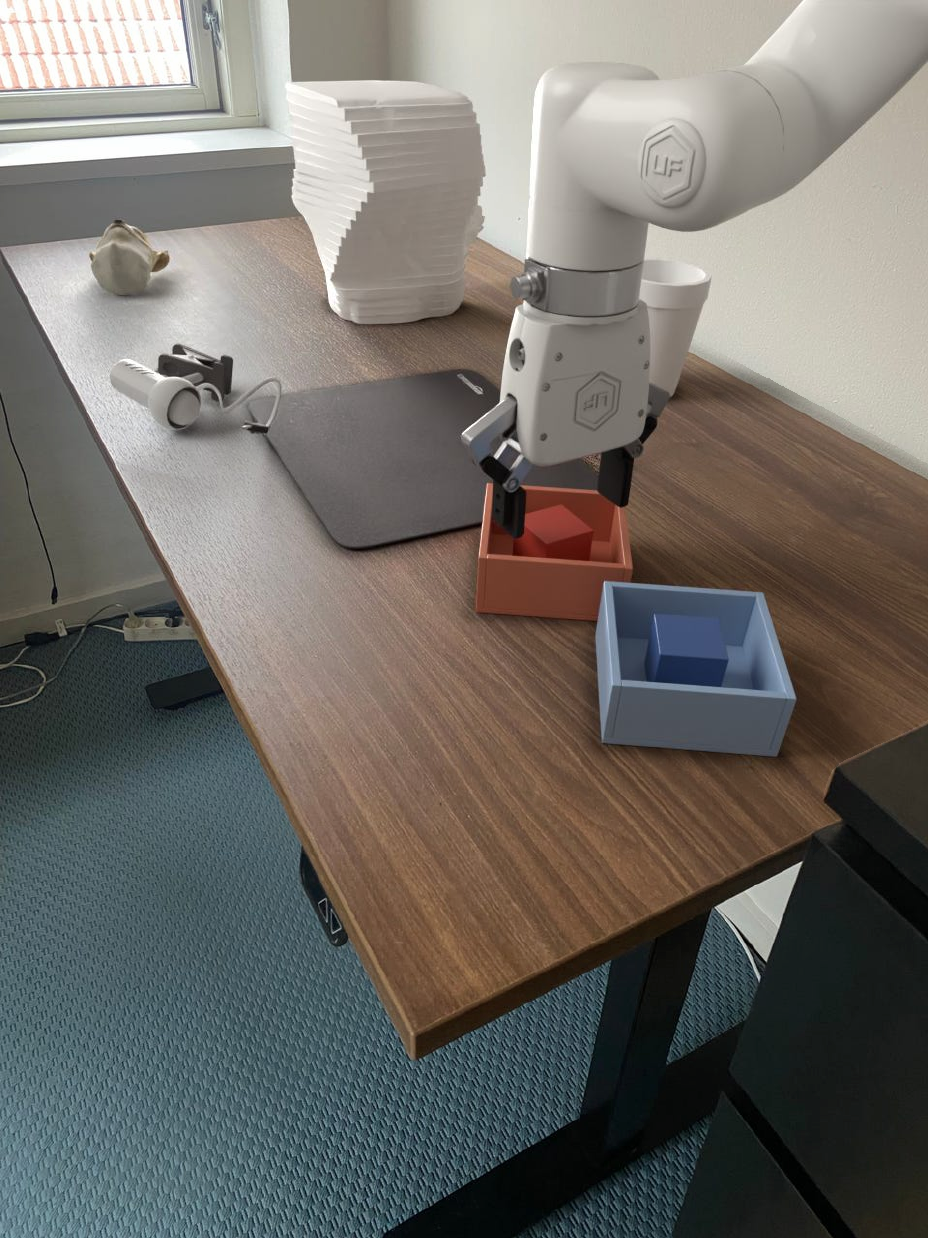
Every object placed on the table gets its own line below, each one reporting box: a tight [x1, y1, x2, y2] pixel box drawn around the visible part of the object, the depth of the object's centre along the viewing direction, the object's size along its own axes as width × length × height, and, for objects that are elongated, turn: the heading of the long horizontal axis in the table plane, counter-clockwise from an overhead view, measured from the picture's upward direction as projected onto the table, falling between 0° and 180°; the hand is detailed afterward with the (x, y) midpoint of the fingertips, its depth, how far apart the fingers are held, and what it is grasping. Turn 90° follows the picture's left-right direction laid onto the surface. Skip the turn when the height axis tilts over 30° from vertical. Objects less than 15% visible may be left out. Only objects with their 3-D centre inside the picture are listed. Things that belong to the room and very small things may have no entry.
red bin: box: [475, 483, 634, 622], centre depth 73 cm, size 11×11×5 cm
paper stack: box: [284, 79, 487, 325], centre depth 115 cm, size 21×27×26 cm
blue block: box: [644, 614, 729, 687], centre depth 62 cm, size 4×4×4 cm
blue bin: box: [594, 581, 797, 758], centre depth 62 cm, size 11×11×5 cm
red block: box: [512, 505, 594, 561], centre depth 73 cm, size 4×4×4 cm
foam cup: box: [639, 257, 713, 398], centre depth 101 cm, size 10×9×13 cm
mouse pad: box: [248, 368, 599, 550], centre depth 91 cm, size 32×27×1 cm
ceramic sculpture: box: [88, 218, 171, 296], centre depth 125 cm, size 11×9×15 cm
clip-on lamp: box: [109, 342, 282, 435], centre depth 93 cm, size 12×6×18 cm
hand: (561, 514), depth 70 cm, fingers open, 9 cm apart
